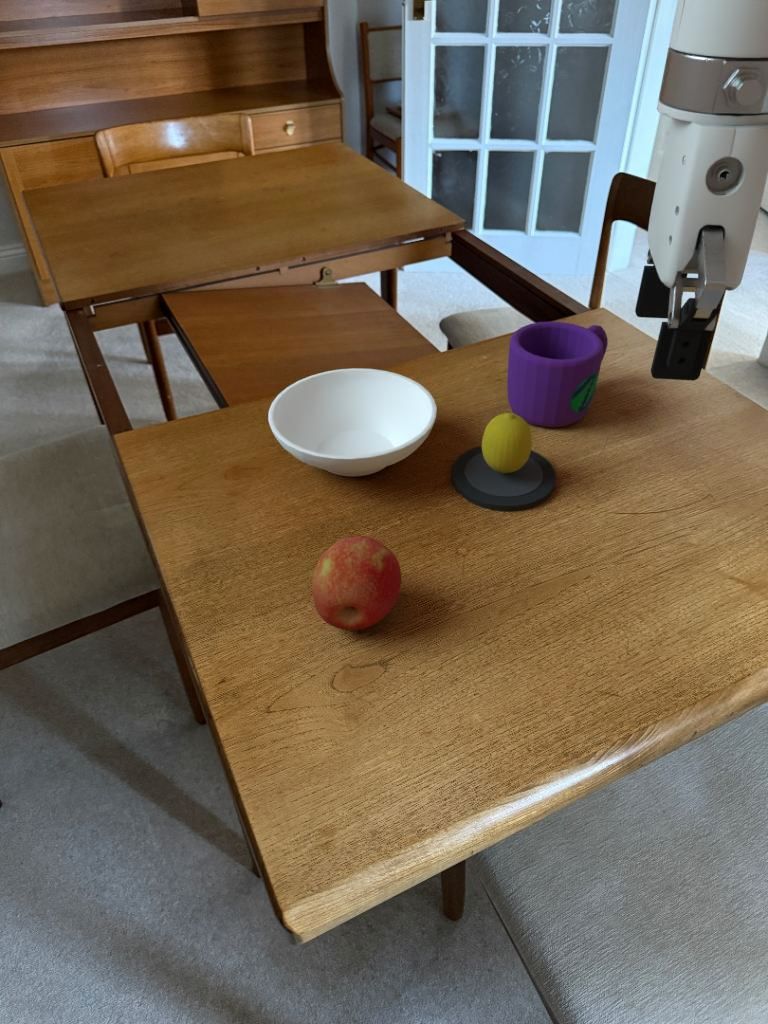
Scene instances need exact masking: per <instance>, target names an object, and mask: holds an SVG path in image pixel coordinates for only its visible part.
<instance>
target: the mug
mask: <svg viewBox="0 0 768 1024" xmlns="http://www.w3.org/2000/svg"><path fill="white" fill-rule="evenodd" d="M608 343H609V342H608V335H607V332H606V331H605V329H604V328H603V327H602V325H597V324H591V325H590V326H589V327H584V326H581V325H578V324H575V323H570V322H565V321H564V322H563V321H538V322H533V323H529V324H526V325H524V326H522V327H519V328H518V329H517V330H515V331H514V333H513V334H512V335H511V337H510V340H509V348H508V359H507V360H508V361H507V379H506V381H507V382H506V390H507V402H508V404H509V407H510V410H511V411H512V413H513V414H516V415H518V416H520V417H521V418H523V419H524V420H525V421H526V422H527V424H531V425H533V426H537V427H542V428H561V427H565V426H569V425H572V424H575V423H577V422H578V421H580V420H581V419H582V418H583V417H584V416H585V415H586V414H587V412H588V410H589V408H590V405H591V403H592V400H593V398H594V395H595V391H596V388H597V384H598V379H599V376H600V371H601V366H602V362H603V360H604V357H605V354H606V353H607V348H608Z"/></svg>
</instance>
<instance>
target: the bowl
mask: <svg viewBox="0 0 768 1024" xmlns="http://www.w3.org/2000/svg"><path fill="white" fill-rule="evenodd" d="M437 411H438V408H437V404H436V400H435V398H434V397H433V395H432V394H431V392H430V391H429V390H428V389H427V388H426V387H425V386H423V385H422V384H420V383H419V382H417V381H416V380H414V379H412V378H411V377H407V376H404V375H402V374H399V373H396V372H391V371H387V370H384V369H383V370H382V369H375V368H361V367H360V368H359V367H356V368H355V367H354V368H353V367H352V368H341V369H340V368H339V369H333V370H328V371H323V372H320V373H316V374H312V375H310V376H306V377H305V378H302V379H299V380H297V381H296V382H293V383H292V384H290V385H288V386H287V387H285V389H283V390H282V391H281V392H279V393H278V394H277V396H276V397H275V398H274V400H273V401H272V402H271V405H270V407H269V409H268V418H267V421H268V423H269V424H268V425H269V427H270V429H271V432H272V435H273V436H274V438H275V439H276V440H277V442H278V443H279V444H280V445H281V447H282V448H283V449H284V450H286V451H287V452H288V453H289V454H290V455H291V456H293V457H294V458H296V459H297V460H298V461H300V462H302V463H304V464H306V465H308V466H310V467H314V468H317V469H320V470H324V471H327V472H329V473H330V474H334V475H338V476H343V477H344V476H345V477H363V476H367V475H368V476H369V475H372V474H376V473H377V472H380V471H382V470H384V469H385V468H386V467H388V466H391V465H394V464H397V463H399V462H401V461H402V460H404V459H407V457H409V456H411V454H413V453H414V452H415V451H417V449H419V447H420V446H422V444H423V443H424V442H425V440H427V438H428V437H429V435H430V433H431V432H432V429H433V426H434V425H435V422H436V420H437Z"/></svg>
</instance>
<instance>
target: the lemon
mask: <svg viewBox="0 0 768 1024" xmlns="http://www.w3.org/2000/svg"><path fill="white" fill-rule="evenodd" d="M532 437H533V436H532V430H531V428H530V425H529V423H528V422H526V421H525V420H524V419H523V418H521V417H520V416H518V415H516V414H515V413H513V412H507V413H506V412H505V413H500V414H498V415H496V416H495V417H493V418H492V419H491V420H490V421H489V422H488V423H487V425H486V427H485V429H484V431H483V436H482V439H481V446H482V452H483V457H484V459H485V461H486V463H487V464H488V465H489V466H490V467H491V468H492V469H493V470H495V471H498V472H501V473H503V474H505V473H511V472H514V471H517V470H518V469H520V468H521V467H522V466H523V465H524V464H525V463H526V462H527V460H528V458H529V455H530V453H531V450H532V448H533V447H532V446H533V439H532Z"/></svg>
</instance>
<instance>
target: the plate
mask: <svg viewBox="0 0 768 1024" xmlns="http://www.w3.org/2000/svg"><path fill="white" fill-rule="evenodd" d="M451 482H452V485H453V487H454V489H455V490H456V492H457V493H458V494H459V495H460V496H461V497H462V498H464V499H465V500H467V501H468V502H470V503H472V504H474V505H476V506H479V507H482V508H484V509H488V510H492V511H500V512H501V511H502V512H517V511H524V510H528V509H531V508H534V507H537V506H539V505H542V504H543V503H544V502H546V501H547V500H548V499H549V498H550V497H551V496H552V494H553V493H554V491H555V488H556V483H557V474H556V470H555V468H554V466H553V465H552V464H551V462H550V461H548V460H547V458H545V457H544V456H543V455H542V454H540V453H538V452H536V451H534V450H532V449H531V453H530V455H529V458H528V460H527V462H526V463H525V464H524V465H523V466H522V467H521V468H520V469H518V470H517V471H514V472H511V473H505V474H503V473H501V472H498V471H495V470H493V469H492V468H491V467H490V466H489V465H488V464H487V463H486V461H485V459H484V457H483V452H482V445H479V446H476V447H473V448H470V449H468V450H467V451H464V452H463V453H461V454H460V455H459V456H458V457H457V458H456V460H455V461H454V463H453V465H452V467H451Z"/></svg>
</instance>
